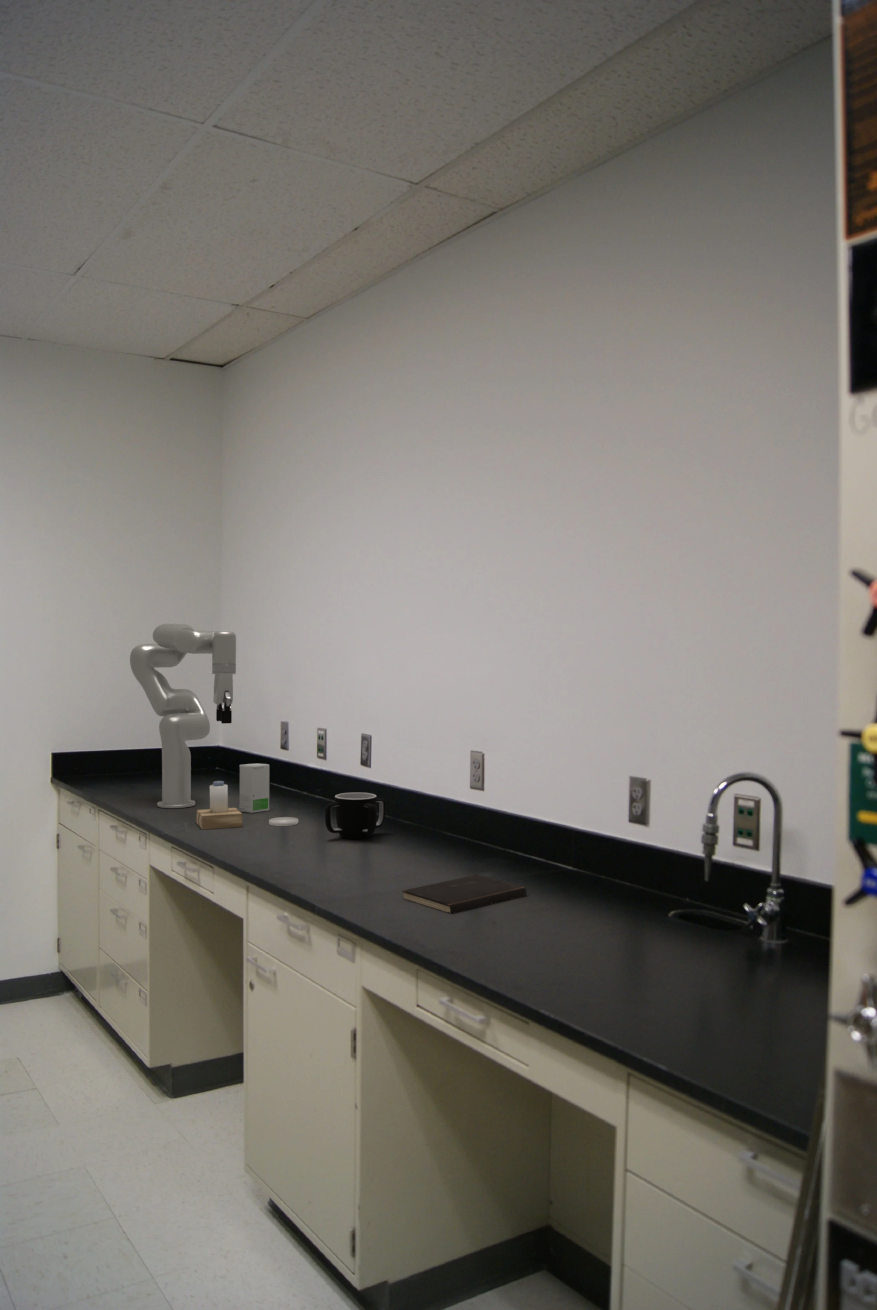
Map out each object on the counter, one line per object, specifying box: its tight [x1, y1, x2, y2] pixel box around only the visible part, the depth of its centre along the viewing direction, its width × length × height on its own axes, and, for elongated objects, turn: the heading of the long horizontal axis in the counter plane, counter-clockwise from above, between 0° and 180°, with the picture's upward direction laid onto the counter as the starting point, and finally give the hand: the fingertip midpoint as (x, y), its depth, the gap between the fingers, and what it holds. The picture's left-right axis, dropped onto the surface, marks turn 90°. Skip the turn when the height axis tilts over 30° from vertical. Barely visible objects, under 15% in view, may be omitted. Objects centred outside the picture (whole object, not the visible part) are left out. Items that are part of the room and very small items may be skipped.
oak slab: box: [196, 807, 243, 830], centre depth 299 cm, size 12×12×4 cm
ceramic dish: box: [268, 816, 299, 827], centre depth 302 cm, size 9×9×1 cm
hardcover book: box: [401, 874, 527, 914], centre depth 216 cm, size 16×23×2 cm
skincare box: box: [238, 762, 270, 814], centre depth 324 cm, size 8×7×16 cm
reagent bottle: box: [209, 780, 229, 813], centre depth 300 cm, size 5×5×9 cm
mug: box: [324, 792, 386, 840], centre depth 282 cm, size 16×16×12 cm
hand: (223, 722), depth 315 cm, fingers open, 9 cm apart
